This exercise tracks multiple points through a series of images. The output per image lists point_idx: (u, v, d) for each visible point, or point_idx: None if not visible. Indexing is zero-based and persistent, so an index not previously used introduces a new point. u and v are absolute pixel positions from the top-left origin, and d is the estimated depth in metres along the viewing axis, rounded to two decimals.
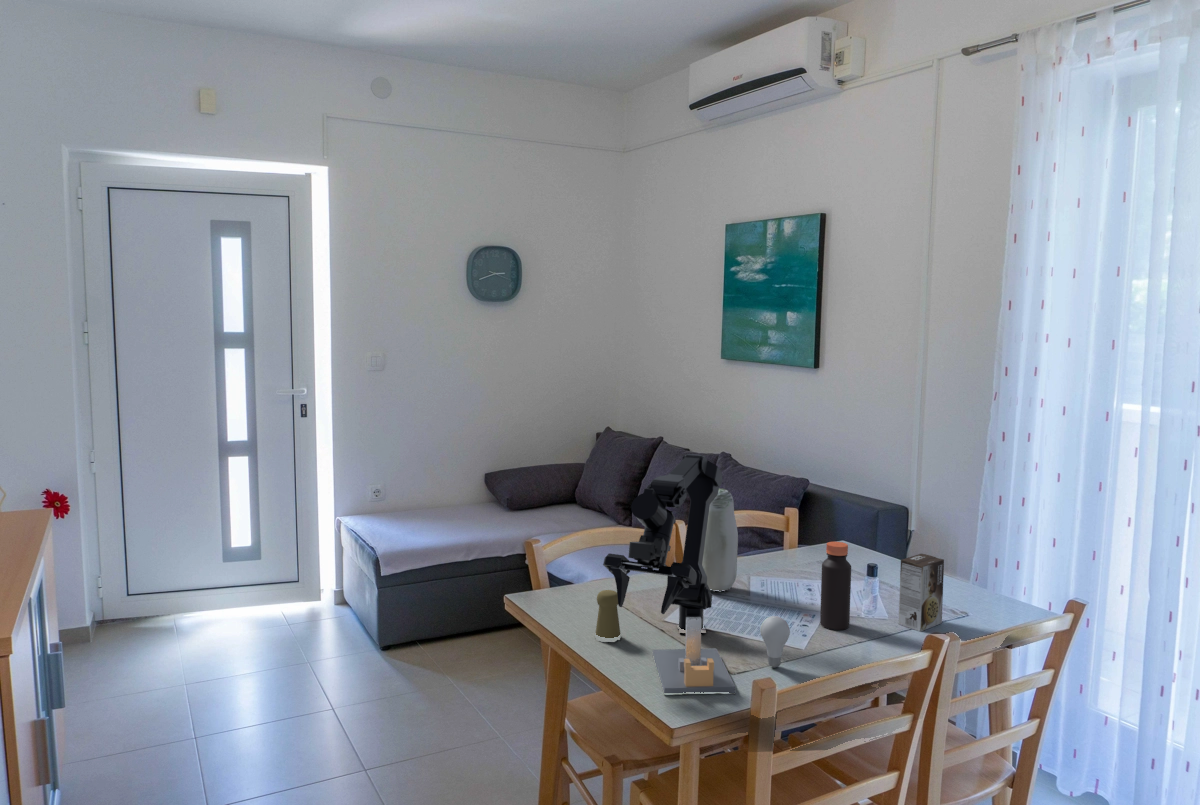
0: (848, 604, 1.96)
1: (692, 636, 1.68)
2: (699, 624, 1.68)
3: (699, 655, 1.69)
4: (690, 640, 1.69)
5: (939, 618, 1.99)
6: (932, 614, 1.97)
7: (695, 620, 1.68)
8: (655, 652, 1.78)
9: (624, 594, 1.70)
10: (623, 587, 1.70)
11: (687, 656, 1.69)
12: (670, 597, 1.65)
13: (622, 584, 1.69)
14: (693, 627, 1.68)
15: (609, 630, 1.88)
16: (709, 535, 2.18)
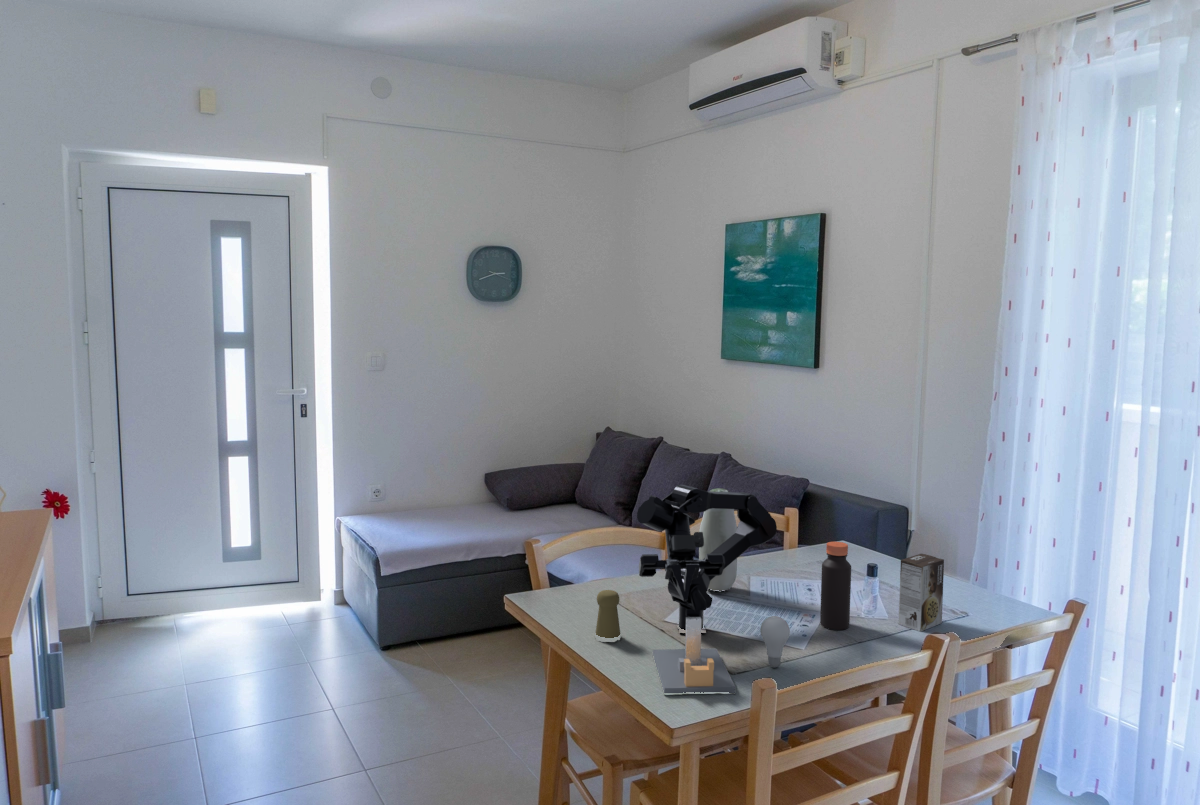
0: (848, 604, 1.96)
1: (692, 636, 1.68)
2: (699, 624, 1.68)
3: (699, 655, 1.69)
4: (690, 640, 1.69)
5: (939, 618, 1.99)
6: (932, 614, 1.97)
7: (695, 620, 1.68)
8: (655, 652, 1.78)
9: None
10: None
11: (687, 656, 1.69)
12: (690, 585, 1.81)
13: (681, 580, 1.81)
14: (693, 627, 1.68)
15: (609, 630, 1.88)
16: (709, 535, 2.18)
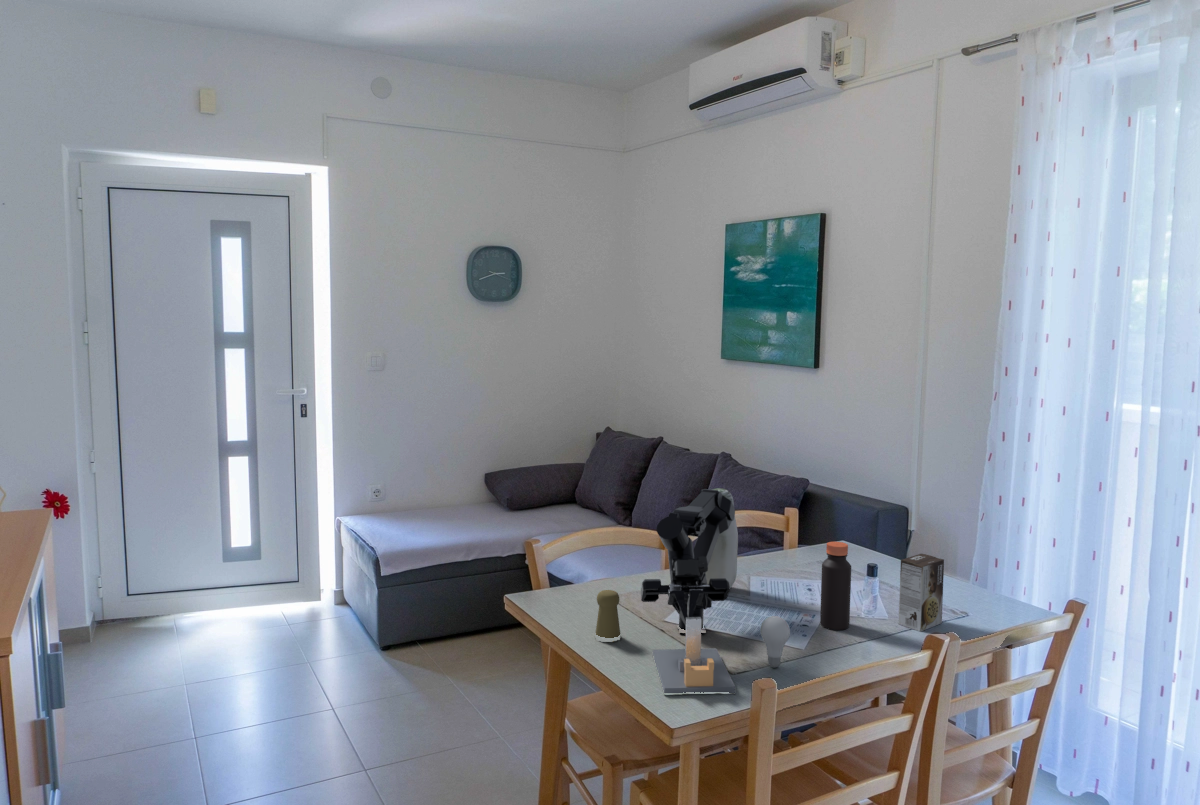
0: (848, 604, 1.96)
1: (692, 636, 1.68)
2: (699, 624, 1.68)
3: (699, 655, 1.69)
4: (690, 640, 1.69)
5: (939, 618, 1.99)
6: (932, 614, 1.97)
7: (695, 620, 1.68)
8: (655, 652, 1.78)
9: None
10: None
11: (687, 656, 1.69)
12: (693, 611, 1.76)
13: None
14: (693, 627, 1.68)
15: (609, 630, 1.88)
16: None
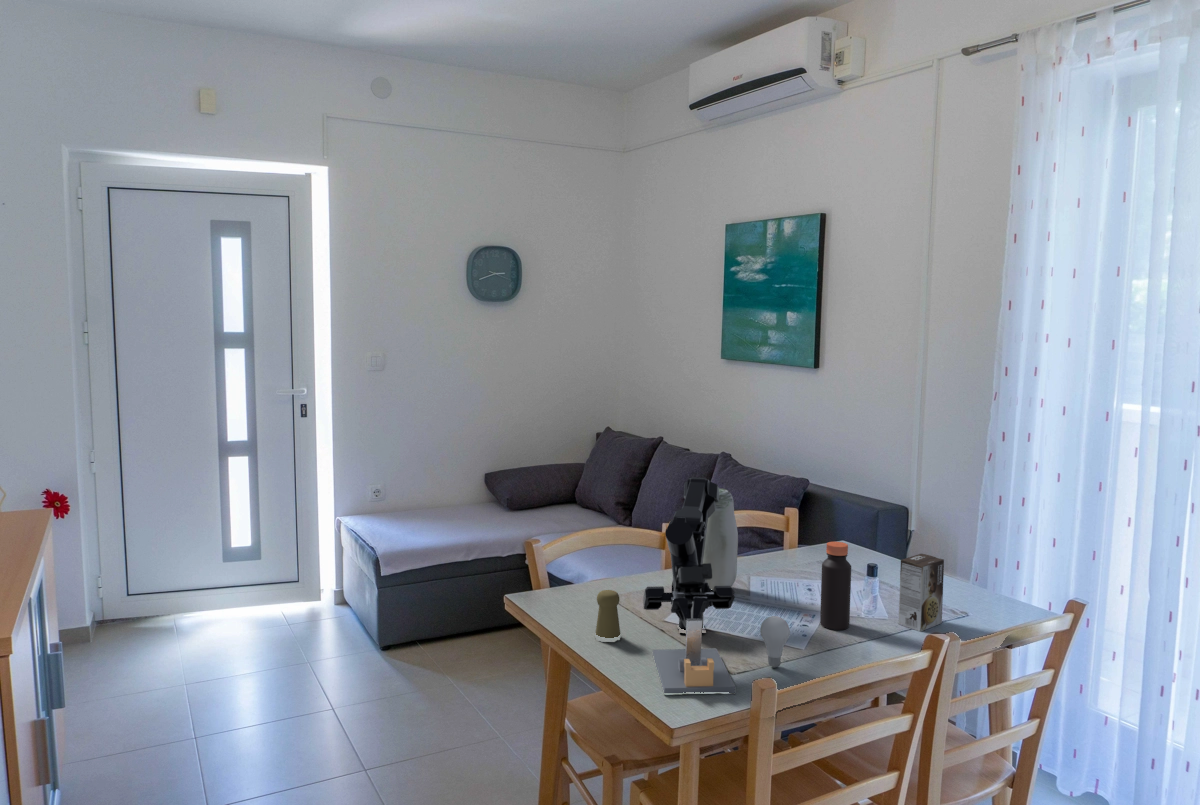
0: (848, 604, 1.96)
1: (692, 637, 1.68)
2: (700, 626, 1.68)
3: (699, 656, 1.69)
4: (690, 641, 1.68)
5: (939, 618, 1.99)
6: (932, 614, 1.97)
7: (696, 622, 1.67)
8: (655, 652, 1.78)
9: None
10: None
11: (687, 657, 1.69)
12: None
13: (688, 614, 1.71)
14: (694, 629, 1.68)
15: (609, 630, 1.88)
16: (709, 535, 2.18)
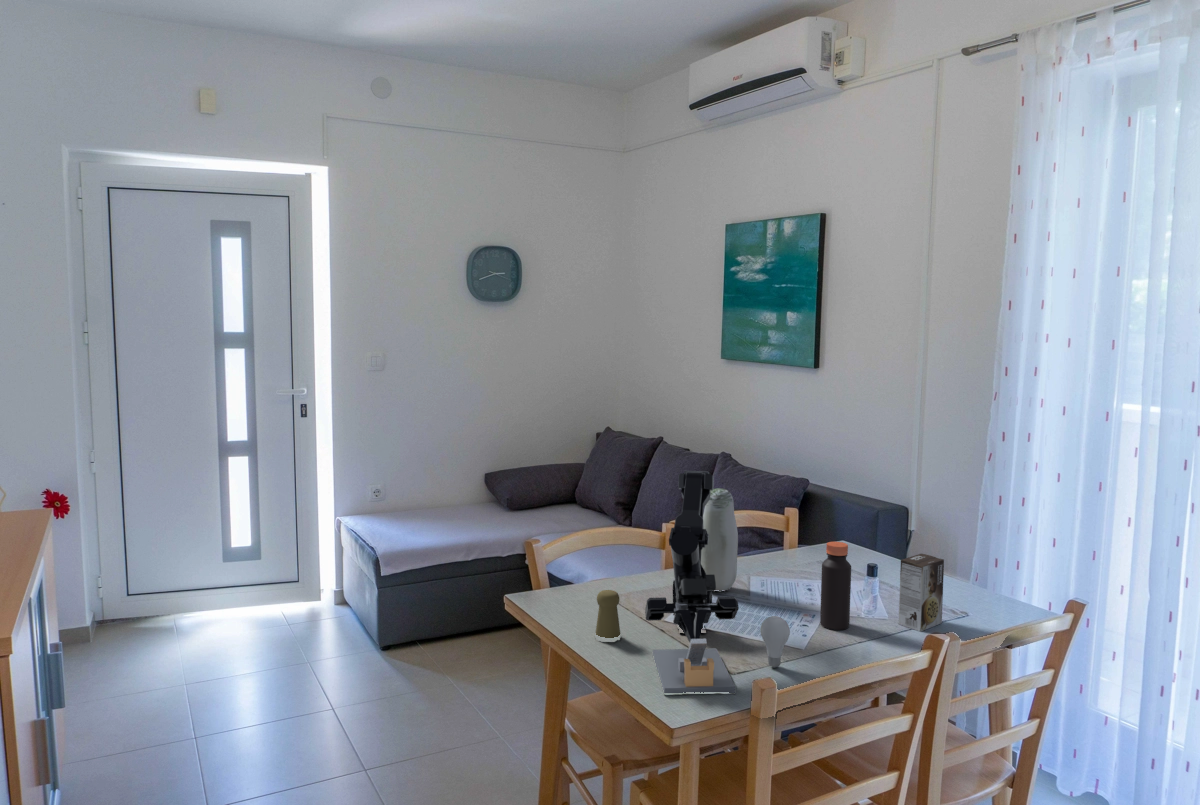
0: (848, 604, 1.96)
1: (695, 652, 1.65)
2: (704, 646, 1.63)
3: (700, 661, 1.68)
4: (693, 654, 1.66)
5: (939, 618, 1.99)
6: (932, 614, 1.97)
7: (700, 644, 1.63)
8: (655, 652, 1.78)
9: None
10: None
11: None
12: (700, 631, 1.68)
13: (691, 626, 1.68)
14: (697, 647, 1.64)
15: (609, 630, 1.88)
16: (709, 535, 2.18)
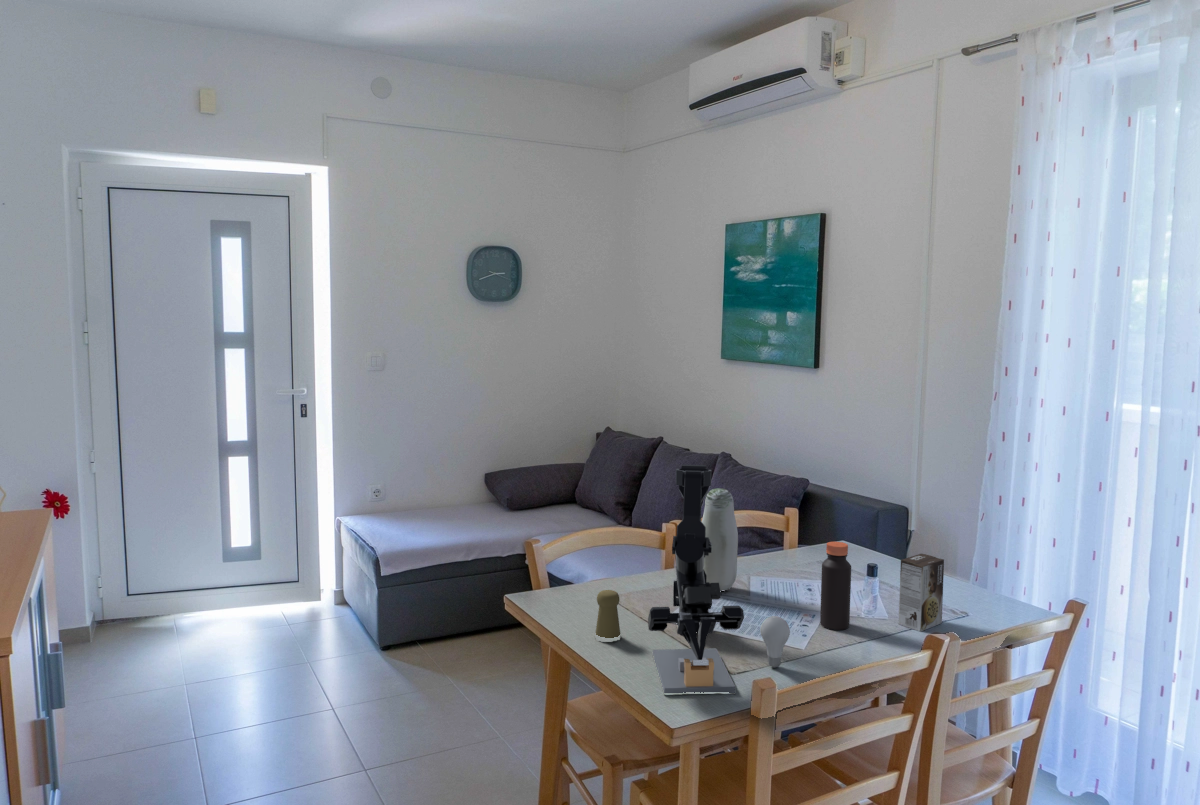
0: (848, 604, 1.96)
1: None
2: (705, 665, 1.61)
3: None
4: None
5: (939, 618, 1.99)
6: (932, 614, 1.97)
7: (702, 665, 1.61)
8: (655, 652, 1.78)
9: None
10: None
11: None
12: None
13: None
14: (699, 665, 1.62)
15: (609, 630, 1.88)
16: (709, 535, 2.18)
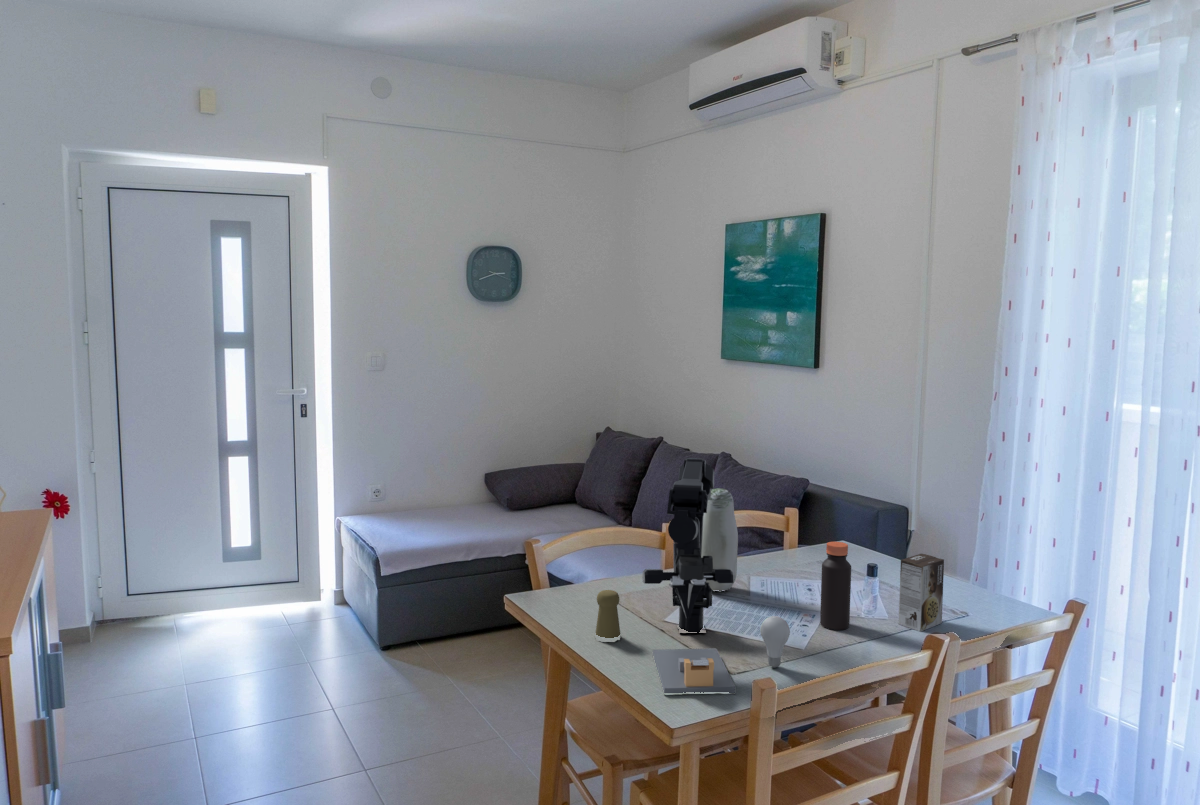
0: (848, 604, 1.96)
1: None
2: (705, 665, 1.61)
3: None
4: None
5: (939, 618, 1.99)
6: (932, 614, 1.97)
7: (702, 665, 1.61)
8: (655, 652, 1.78)
9: None
10: None
11: None
12: (694, 602, 1.74)
13: None
14: (699, 665, 1.62)
15: (609, 630, 1.88)
16: (709, 535, 2.18)
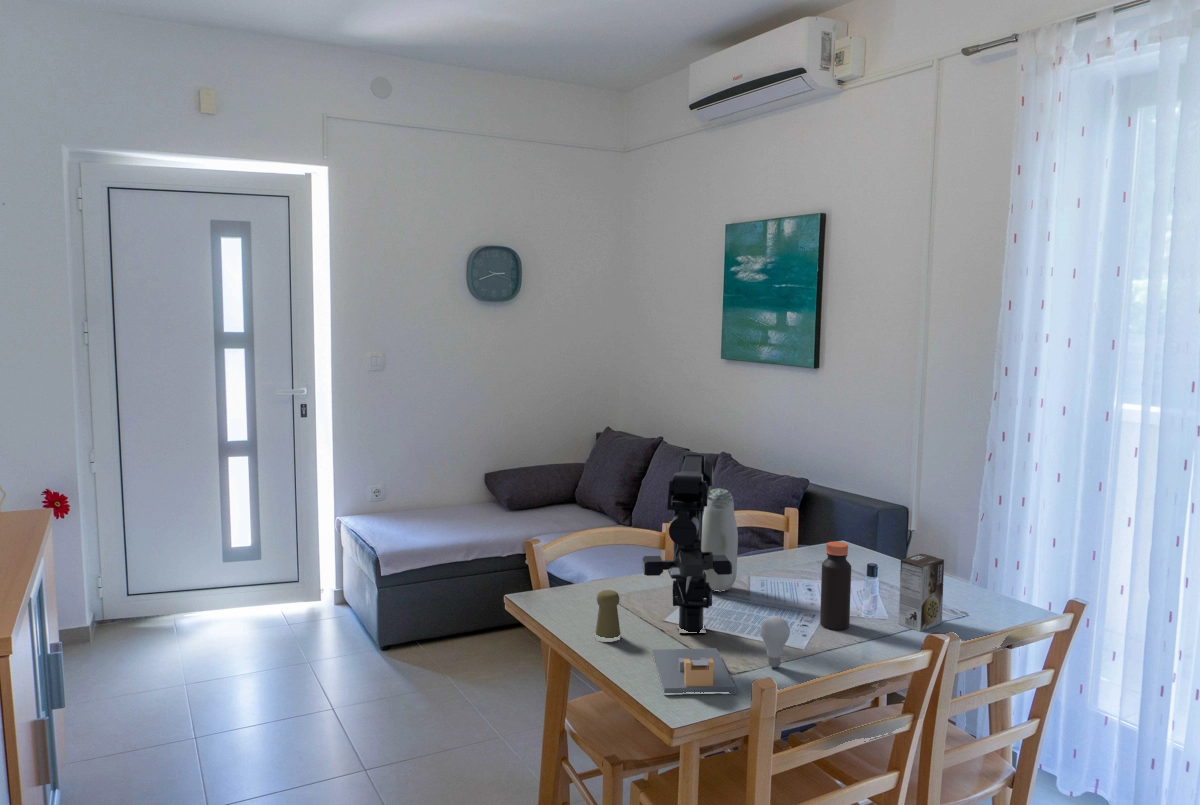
0: (848, 604, 1.96)
1: None
2: (705, 665, 1.61)
3: None
4: None
5: (939, 618, 1.99)
6: (932, 614, 1.97)
7: (702, 665, 1.61)
8: (655, 652, 1.78)
9: None
10: None
11: None
12: None
13: (684, 585, 1.77)
14: (699, 665, 1.62)
15: (609, 630, 1.88)
16: (709, 535, 2.18)
